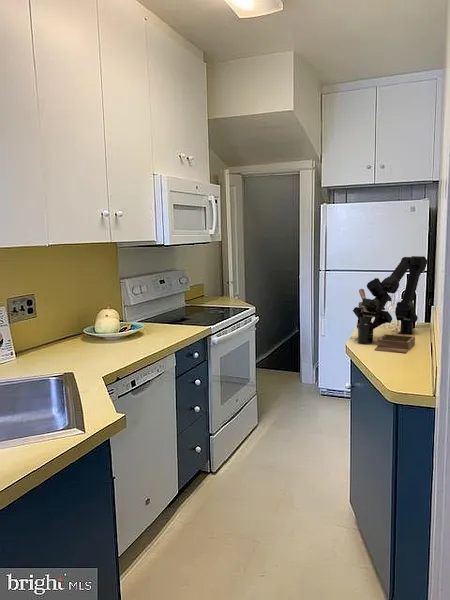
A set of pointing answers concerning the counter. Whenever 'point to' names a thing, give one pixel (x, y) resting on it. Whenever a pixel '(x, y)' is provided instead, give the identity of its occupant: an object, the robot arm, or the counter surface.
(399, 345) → the walnut tray
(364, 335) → the supplement bottle
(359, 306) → the mortar and pestle
